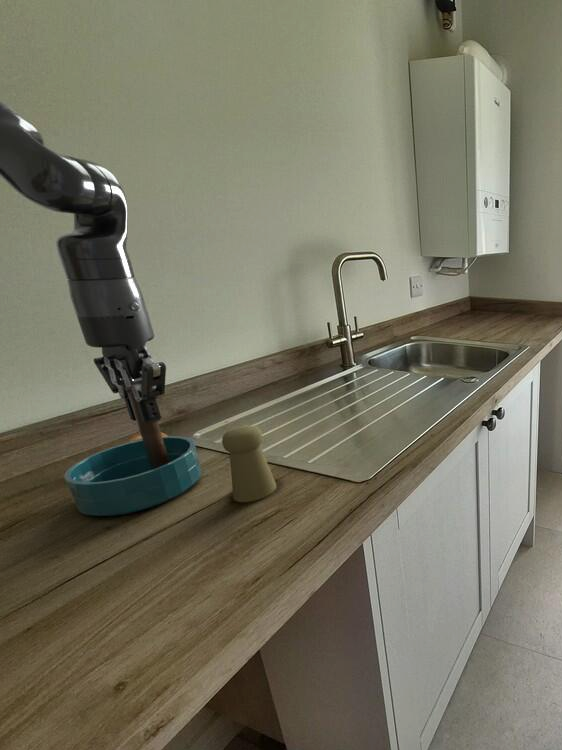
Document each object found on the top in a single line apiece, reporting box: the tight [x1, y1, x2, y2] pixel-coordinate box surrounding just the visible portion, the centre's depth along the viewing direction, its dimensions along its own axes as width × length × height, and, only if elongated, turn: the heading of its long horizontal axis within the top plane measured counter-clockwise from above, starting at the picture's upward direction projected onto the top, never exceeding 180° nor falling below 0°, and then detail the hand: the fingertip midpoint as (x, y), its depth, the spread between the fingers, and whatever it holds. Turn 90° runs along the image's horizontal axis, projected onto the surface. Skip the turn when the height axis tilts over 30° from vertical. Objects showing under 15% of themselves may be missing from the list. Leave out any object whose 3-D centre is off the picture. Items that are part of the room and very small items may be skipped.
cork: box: [221, 424, 277, 503], centre depth 64 cm, size 6×6×11 cm
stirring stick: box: [127, 388, 170, 470], centre depth 65 cm, size 2×2×14 cm
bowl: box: [63, 435, 203, 517], centre depth 65 cm, size 15×15×6 cm
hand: (146, 419), depth 65 cm, fingers closed on stirring stick, 2 cm apart
